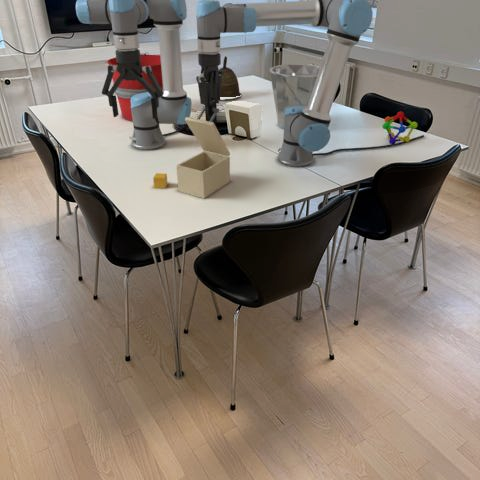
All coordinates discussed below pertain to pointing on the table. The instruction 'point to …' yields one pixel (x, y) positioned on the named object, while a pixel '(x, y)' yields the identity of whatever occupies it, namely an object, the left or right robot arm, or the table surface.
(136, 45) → the left robot arm
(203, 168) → the chest
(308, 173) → the table surface
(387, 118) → the educational toy
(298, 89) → the bucket
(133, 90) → the bucket
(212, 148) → the lid
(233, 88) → the bell
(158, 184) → the block
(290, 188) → the table surface
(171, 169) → the table surface
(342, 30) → the right robot arm
